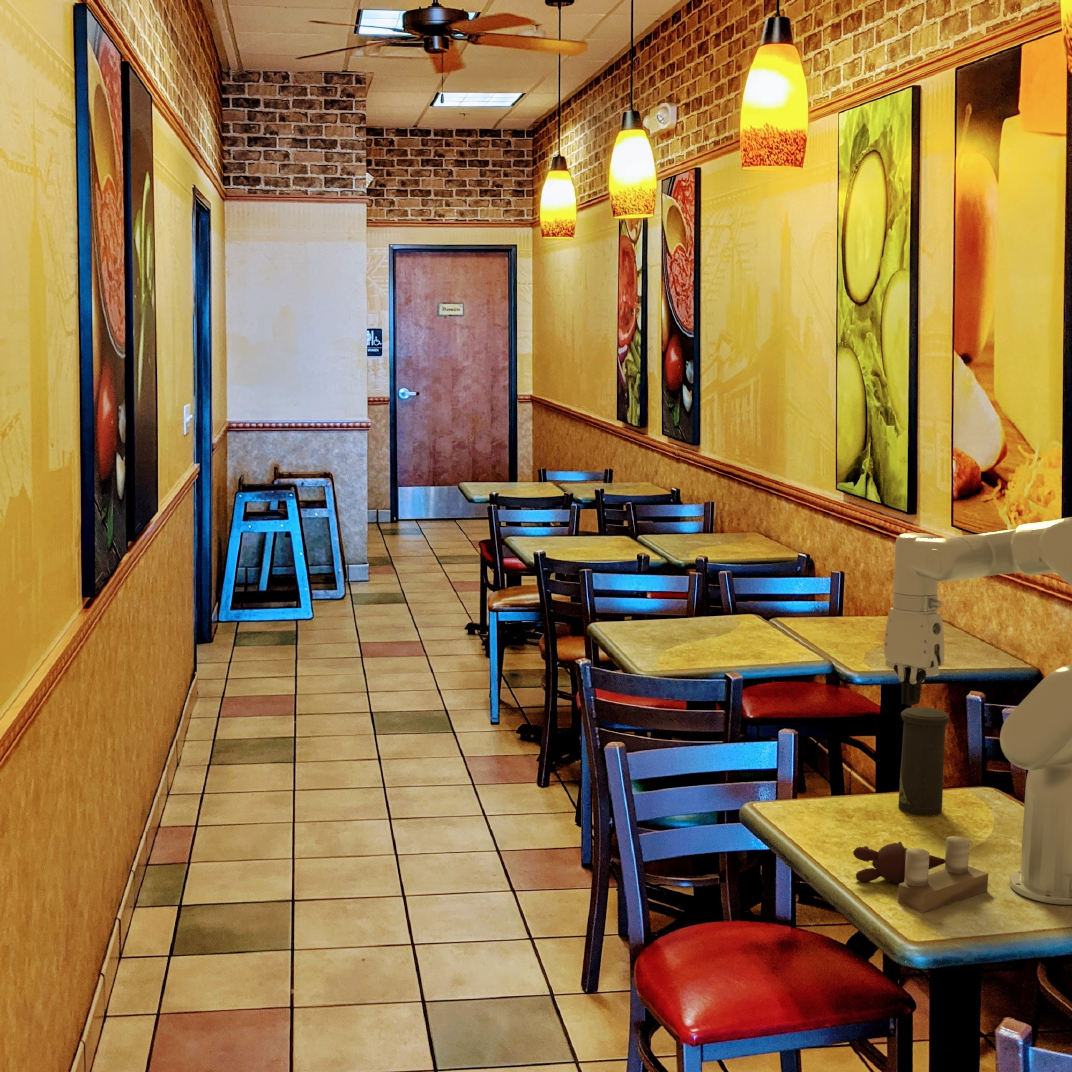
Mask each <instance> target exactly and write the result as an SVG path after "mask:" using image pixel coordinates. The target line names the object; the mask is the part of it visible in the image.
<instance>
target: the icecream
mask: <svg viewBox="0 0 1072 1072" xmlns="http://www.w3.org/2000/svg"><path fill="white" fill-rule="evenodd" d="M907 849H908V848H907V847H904V845H903V843H902V842H901V841H898V842H894V843H889V844H886V845H884V846H883V847H881V848H880V849H879V850H878V851H877V850H874V849H871V848H869V847H868V846H866V845H864V846H858V847H856V848H855V849H854V850H853V851H852V854H853V857H855V858H856V859H857V860H859V861H863V862H867V863H869V862H870V861H872V862H871V865H872V867H869V868H864V869H861V870H859V871H858V872H856V875H855V878H856V881H857V882H860V883H870V882H871V881H875V880H877V879H878V878H882V879H884V880H886V881H888V882H890V883H893V884H895V883H896V884H900V883H904V882H905V862H906V850H907ZM942 865H945V858H941V857H939V856H935V855H931V854H929V870H931V869H934V868H936V867H939V866H942Z"/></svg>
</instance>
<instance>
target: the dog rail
mask: <svg viewBox="0 0 1072 1072" xmlns="http://www.w3.org/2000/svg"><path fill="white" fill-rule="evenodd" d="M945 841H946V842H945V858H944V859H945V863H944V869H942V870H939V871H935V872H933V873H929V871H930V869H929V855H930V852H929V851H928V850H926V849H923V848H918V847H910V848H907V850H906V862H905V882H904V883H898V890H897V891H898V894H897V902H898V903H899V904H902V905H904V906H907V907H908V908H911V909H914V910H915V911H917V912H921V913H923V914H924V913H927V912H929V911H933V910H935V909H938V908H941V907H943V906H948V905H951V904H953V903H957V902H960V901H962V900H965V899H968V898H972V897H974V896H977V895H980V894H982V893H986V892H988V885H989V883H988V882H989V873H987V872H986V871H983V870H980V869H978V868H975V867H973V866H971V865H969V854H970V851H969V850H970V840H969V839H968V838H966V837H962V836H954V835H951V836H948V837H946V840H945Z"/></svg>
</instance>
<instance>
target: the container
mask: <svg viewBox="0 0 1072 1072" xmlns="http://www.w3.org/2000/svg"><path fill="white" fill-rule="evenodd" d="M900 717H901V719H902V721H903V730H902V746H901V747H902V748H901V749H902V750H901V759H900V760H901V762H900V773H899V774H900V775H899V776H900V777H899V791H898V805H897V806H898V809H899V810H900V811H902V812H904V813H905V814H909V815H912V816H916V815H917V816H919V817H934V816H935V817H936V816H939V815H941V814H942V813H943V799H944V798H943V797H944V795H943V793H944V792H943V791H944V788H943V787H944V768H945V767H944V765H945V746H946V744H945V741H946V726H947V725H948V724H949V722H950V716H949V715H948V714H947V712H945V711H944V710H941V709H937V708H931V707H925V706H912V707H907V708H905V709H904V710H902V711H901V713H900Z"/></svg>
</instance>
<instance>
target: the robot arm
mask: <svg viewBox="0 0 1072 1072" xmlns="http://www.w3.org/2000/svg"><path fill="white" fill-rule="evenodd" d="M893 569H894V570H893V589H892V590H893V592H892V593H893V594H892V607H890V608H889V612H888V616H887V620H886V625H885V632H884V641H883V654H884V655H883V656H884V658H885V666H886V667H888V668H889V669H891V670H893V671H894V672H895V673H896V674H897V676H898V681H899V682H901V688H900V689H901V691H900V696H901V697H900V698H901V701H900V702H901V704H902V705H907V706H909V707H910V706H915V705H918V704H920V699H921V692H922V690H921V689H922V683H924V682H925V680H926V679H928V677H936V676H939V675H940V667H942V666H943V665H944V662H945V635H944V634H945V633H944V625H943V619H942V618H943V617H942V613H941V612H939V611H937V610H938V609H940V608H942V605H943V603H942V600H939V599H938V589H939V588H938V583H939V582H944V583H945V582H955V581H960V580H961V581H962V580H967V579H973V578H981V577H982V578H983V577H989V576H998V575H1007V574H1008V575H1009V574H1019V573H1022V574H1023V575H1026V576H1039V575H1047V574H1049V575H1050V574H1056V575H1057V576H1058V577H1060V578H1061V579H1062V580H1063V581H1065V582H1066V583H1067V584H1068V585H1069V586H1070V587H1072V516H1069V517H1064V518H1060V519H1059V518H1058V519H1052V520H1045V521H1044V520H1043V521H1038V522H1031V523H1029V522H1028V523H1022V524H1019V525H1018V526H1017V527H1016V528H1013V529H1007V530H1000V531H994V532H985V533H979V534H967V535H957V536H950V537H948V536H947V537H940V538H938V537H937V536H936V535H934V534H930V533H925V532H923V533H922V532H906V533H904V532H903V533H901V534H899V535H898V536H897V537H896V540H895V547H894V568H893ZM1004 720H1005V721H1004V722H1003V723H1002V726H1001V729H1000V734H999V743H1000V748H1001V751H1002V753H1003V755H1004V757H1005V759H1007V760H1008V761H1009V762H1010V763H1011V765H1014V766H1016V767H1018V768H1020V769H1022V770H1025V771H1026V770H1028V771H1027V776H1026V781H1025V793H1024V794H1025V795H1024V805H1023V806H1024V810H1023V822H1022V823H1023V824H1022V839H1021V842H1022V843H1021V855H1020V856H1021V857H1020V870H1018V871H1015V872H1014V873H1012V874H1010V876H1009V887H1010V888H1011V889H1012V890H1014V892H1015V893H1017V894H1019V895H1020V896H1023V897H1025V898H1027V899H1030V900H1034V901H1037V902H1041V903H1046V904H1047V903H1048V904H1053V905H1064V906H1066V905H1072V663H1070V664H1066V665H1063V666H1061V667H1059V668H1056V669H1055V670H1053V671H1052V672H1050V673H1049V674H1047V675H1046V676H1045V677H1044V678H1043V679H1042V680H1041V681H1040V682H1039V683H1038V684H1037V685H1036V686H1035V687H1034V688H1033V689H1032V690H1031V691H1030V692H1029V693H1028V695H1026V696H1025V698H1024V699H1022V701H1021V702H1020V703H1019V704H1018V705H1017V706H1016V707H1015V708H1014V709H1013V710H1012V712H1011V713H1010V714H1009V715H1008V716H1007V717H1006V719H1004Z"/></svg>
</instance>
